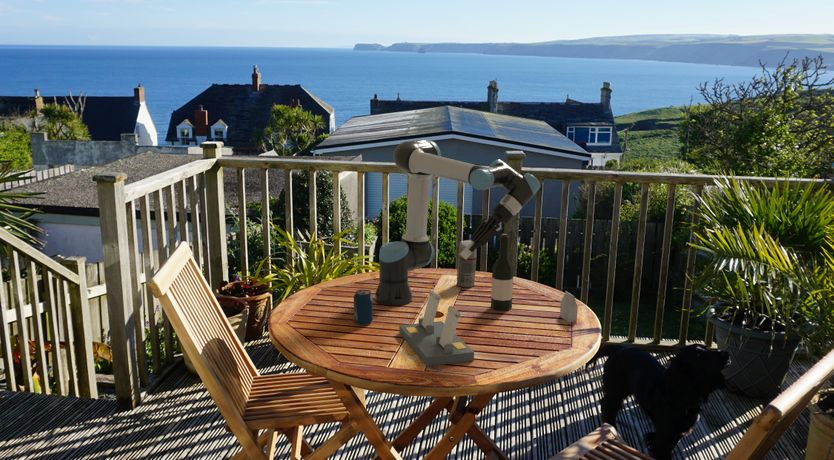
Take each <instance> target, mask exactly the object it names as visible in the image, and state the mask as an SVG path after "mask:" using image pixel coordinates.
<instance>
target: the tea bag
mask: <svg viewBox="0 0 834 460" xmlns="http://www.w3.org/2000/svg"><path fill="white" fill-rule="evenodd" d="M559 306H560V307H559V309H560V311H559V317H560V318H561V319H562V320H564V321H565V322H567V323H572V322H573V323H575V322H574V321H576V322H577V321H578V308H579V307H578V304H577V301H576V297H575V295H573V294H571V293H570V292H568V291H567V290H565V291H564V295H563V297H562V299H561V300H560V305H559Z"/></svg>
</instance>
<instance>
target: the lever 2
mask: <svg viewBox="0 0 834 460" xmlns="http://www.w3.org/2000/svg"><path fill="white" fill-rule="evenodd" d="M460 317H461V312H460V311H459V310H458V309H456V308H455V307H454V306H453V305H450V306H448V308H447V313H446V317H445V320H444V322H443V323H444V327H443V330H442V334H441V337H440V341H439V343H440V344H441V345H442V346H443V348H444V345H446V344H452V341H453V337H454V334H456V330H457V326H458V323H459V319H460Z"/></svg>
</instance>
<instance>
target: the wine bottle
mask: <svg viewBox="0 0 834 460" xmlns="http://www.w3.org/2000/svg"><path fill="white" fill-rule="evenodd" d="M509 238H510V237H509V234H507V233H501V235H500V236H499V248H498V249H499V251H498V252H499V254H498V258H497V259H496V261H495V262H494V264H493V265H492V269H491V291H490V292H491V294H490V295H491V296H490V307H491V308H492V309H493V311H494V310H495V311H501V312H505V311H510V310H512V308H513V292H514V291H513V290H514V289H513V288H514V270H515V268H514V266H513V264H512V262H511V260H510V259H509Z"/></svg>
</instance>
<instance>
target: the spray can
mask: <svg viewBox="0 0 834 460" xmlns="http://www.w3.org/2000/svg"><path fill="white" fill-rule="evenodd" d="M471 240H472V239H468V240H467V239H466V240H461V241H460V242H459V247H458V255H457V268H456V269H457V272H456V285H457V286H458V287H460V288H473V287H475V281H476V267H477V252H478V251H477V248H478V247H477V248H476V250H475V251H474V252H473V253H472V254H471V255H470V256H469V257H468V258H467V259H464V258H463V257H462V256H461V255H460V253H461V252H462V251H463V250H464V249H465V248H466V247H467V246H468V245H469V243H470V242H471Z"/></svg>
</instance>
